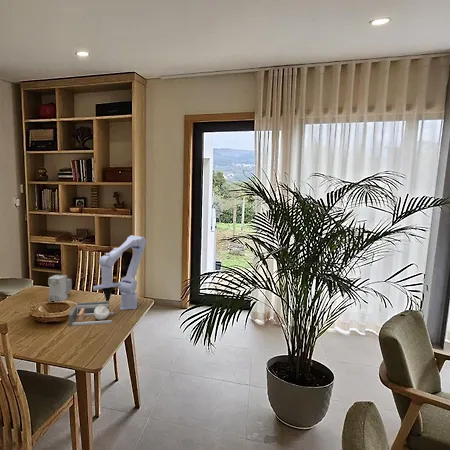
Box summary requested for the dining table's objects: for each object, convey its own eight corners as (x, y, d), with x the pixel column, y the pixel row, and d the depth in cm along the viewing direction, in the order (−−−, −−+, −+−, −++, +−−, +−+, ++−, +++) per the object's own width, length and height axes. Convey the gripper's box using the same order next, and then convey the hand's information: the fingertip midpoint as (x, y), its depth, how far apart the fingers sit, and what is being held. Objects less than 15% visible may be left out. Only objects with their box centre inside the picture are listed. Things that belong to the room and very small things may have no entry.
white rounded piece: (99, 323, 170) (99, 309, 169) (90, 319, 174) (90, 306, 173) (111, 318, 177) (111, 305, 176) (103, 315, 181) (102, 302, 180)
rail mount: (114, 310, 187) (114, 301, 186) (111, 322, 171) (111, 312, 170) (76, 313, 182) (75, 303, 181) (69, 325, 166) (68, 315, 165)
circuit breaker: (73, 294, 211) (72, 272, 209) (60, 302, 197) (59, 279, 195) (62, 293, 212) (61, 271, 210) (48, 301, 198) (47, 278, 196)
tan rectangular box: (84, 316, 177) (84, 308, 177) (81, 323, 169) (81, 314, 169) (81, 316, 177) (81, 308, 176) (78, 323, 169) (78, 314, 168)
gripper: (118, 273, 183) (118, 296, 185) (91, 277, 175) (92, 300, 177) (121, 276, 178) (122, 299, 179) (94, 280, 170) (95, 304, 171)
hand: (107, 300), depth 178 cm, fingers closed
